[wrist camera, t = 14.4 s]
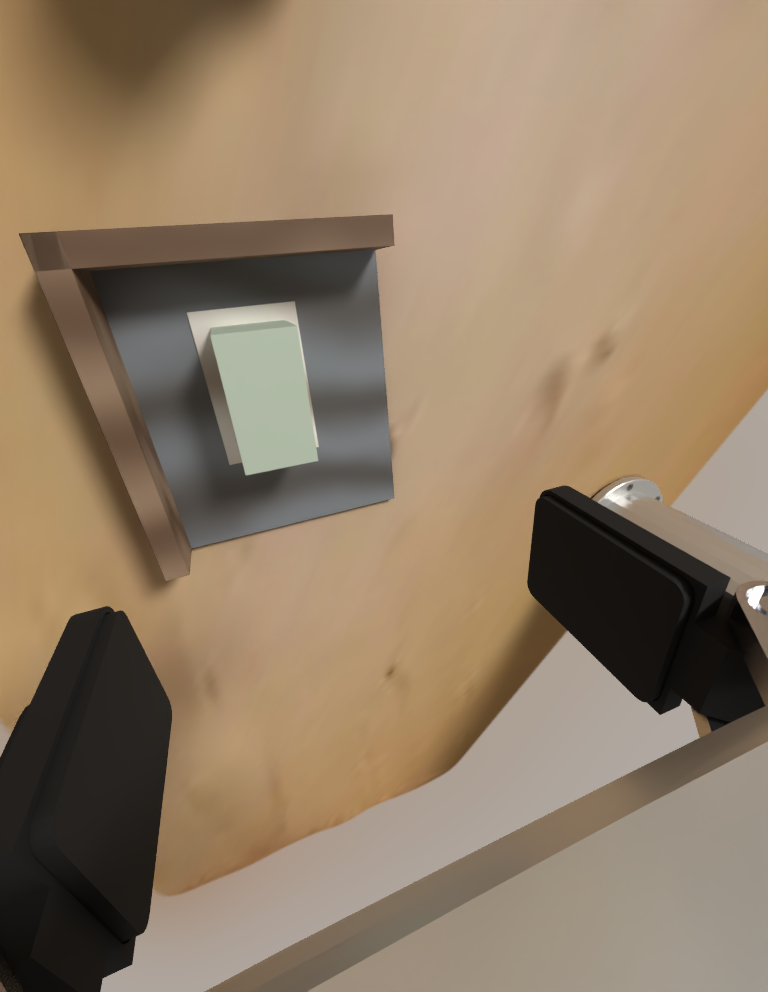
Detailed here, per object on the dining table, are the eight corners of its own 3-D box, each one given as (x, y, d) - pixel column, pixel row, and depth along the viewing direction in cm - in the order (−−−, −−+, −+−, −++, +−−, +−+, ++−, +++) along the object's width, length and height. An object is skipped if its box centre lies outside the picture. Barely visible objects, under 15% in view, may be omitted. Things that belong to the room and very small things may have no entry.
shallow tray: (391, 495, 36) (409, 516, 33) (171, 549, 31) (165, 580, 28) (370, 223, 27) (392, 214, 23) (48, 241, 22) (18, 233, 18)
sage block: (284, 319, 27) (297, 325, 22) (304, 436, 30) (318, 460, 26) (211, 327, 25) (210, 335, 21) (241, 448, 29) (245, 475, 25)
